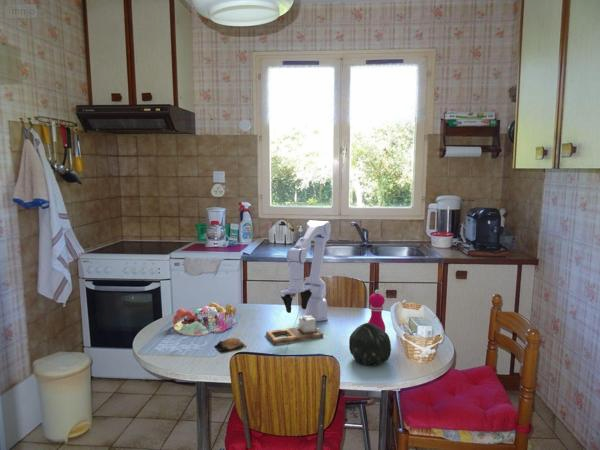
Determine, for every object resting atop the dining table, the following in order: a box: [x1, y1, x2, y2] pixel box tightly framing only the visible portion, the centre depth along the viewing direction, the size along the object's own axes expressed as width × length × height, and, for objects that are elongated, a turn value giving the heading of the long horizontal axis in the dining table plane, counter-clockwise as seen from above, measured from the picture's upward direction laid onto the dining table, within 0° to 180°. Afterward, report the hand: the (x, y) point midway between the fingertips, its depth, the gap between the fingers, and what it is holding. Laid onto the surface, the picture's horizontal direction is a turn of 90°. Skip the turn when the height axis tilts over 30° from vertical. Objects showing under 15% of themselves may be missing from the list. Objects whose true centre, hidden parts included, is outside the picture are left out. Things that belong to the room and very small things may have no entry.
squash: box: [348, 322, 392, 366], centre depth 150 cm, size 14×15×15 cm
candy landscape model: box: [172, 302, 237, 337], centre depth 184 cm, size 25×24×9 cm
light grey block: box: [298, 315, 316, 335], centre depth 174 cm, size 5×5×7 cm
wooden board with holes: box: [265, 326, 324, 346], centre depth 173 cm, size 20×10×2 cm, turn 111°
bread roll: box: [213, 337, 247, 354], centre depth 163 cm, size 11×9×4 cm
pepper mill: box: [367, 289, 386, 332], centre depth 169 cm, size 7×7×20 cm
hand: (296, 310), depth 175 cm, fingers open, 7 cm apart
